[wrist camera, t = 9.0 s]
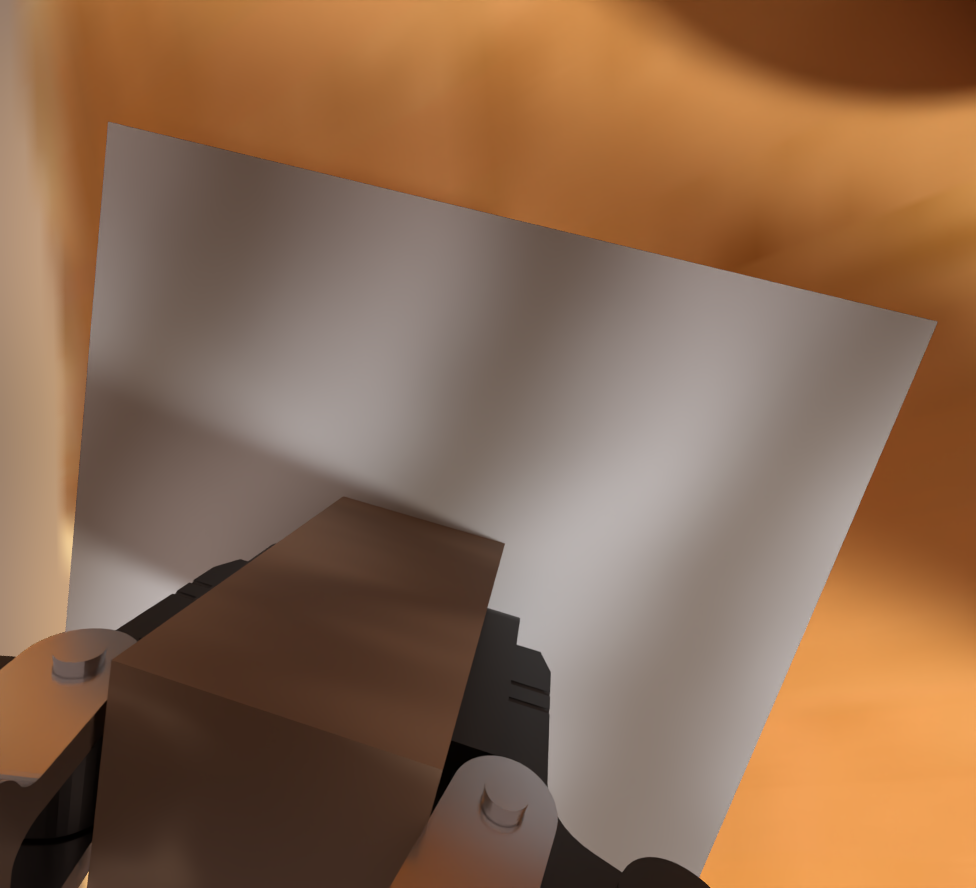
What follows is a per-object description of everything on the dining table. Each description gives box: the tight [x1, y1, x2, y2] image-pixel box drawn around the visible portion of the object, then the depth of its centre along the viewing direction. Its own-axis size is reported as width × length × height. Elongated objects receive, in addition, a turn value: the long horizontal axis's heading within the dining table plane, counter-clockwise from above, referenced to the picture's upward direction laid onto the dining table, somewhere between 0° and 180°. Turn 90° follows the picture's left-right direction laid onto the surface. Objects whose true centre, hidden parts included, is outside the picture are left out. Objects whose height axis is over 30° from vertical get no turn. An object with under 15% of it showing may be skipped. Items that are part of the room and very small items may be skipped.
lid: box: [65, 122, 937, 888], centre depth 9 cm, size 16×16×7 cm
